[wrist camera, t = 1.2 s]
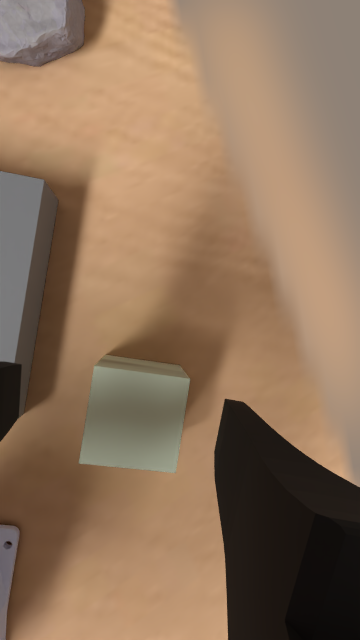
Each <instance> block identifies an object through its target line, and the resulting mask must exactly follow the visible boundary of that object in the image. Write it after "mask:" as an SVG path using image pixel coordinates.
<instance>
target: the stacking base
mask: <svg viewBox="0 0 360 640" xmlns="http://www.w3.org/2000/svg"><path fill="white" fill-rule="evenodd" d="M57 206H58V199H57V197H56V196H55V194H54V193H53V192H52V190H51V189H50V187H49V186H48V184H47V183H46V182H45V180H43V179H38V178H33V177H28V176H23V175H18V174H13V173H8V172H3V171H0V362H3V361H5V362H11V363H17V364H22V370H21V388H20V406H19V417H21V416H22V415H23V414H24V409H25V403H26V397H27V391H28V385H29V378H30V372H31V366H32V360H33V354H34V348H35V342H36V335H37V329H38V323H39V317H40V311H41V305H42V298H43V292H44V286H45V280H46V274H47V268H48V261H49V255H50V249H51V243H52V237H53V231H54V225H55V218H56V212H57Z"/></svg>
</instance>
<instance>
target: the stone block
mask: <svg viewBox="0 0 360 640" xmlns="http://www.w3.org/2000/svg"><path fill="white" fill-rule="evenodd" d="M84 21H85V8H84V6H83V3H82V0H0V61H4V62H8V63H21V64H27V65H30V66H42V65H43V64H45V63H47V62H50V61H52V60H56V59H58V58H61V57H63V56H65V55H67V54H70V53H72V52H74V51H76V50H77V49H79V48H80V47H81V46H82V45H83V44H84Z"/></svg>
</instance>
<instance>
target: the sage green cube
mask: <svg viewBox="0 0 360 640" xmlns="http://www.w3.org/2000/svg"><path fill="white" fill-rule="evenodd" d="M189 384H190V378H189V377H188V375H187V374H186V373H185V371H184V370H183V369H182V368H181V366H180V365H176V364H169V363H162V362H154V361H147V360H140V359H133V358H126V357H119V356H112V355H105V356H104V357H103V358H102V359H101V360H100V361H98V362H97V363H96V364H95V365H94V370H93V377H92V383H91V389H90V395H89V402H88V408H87V414H86V421H85V427H84V433H83V439H82V446H81V452H80V458H79V464H89V465H99V466H109V467H120V468H130V469H140V470H150V471H160V472H170V473H176V468H177V461H178V455H179V448H180V442H181V435H182V429H183V423H184V416H185V410H186V403H187V397H188V390H189Z"/></svg>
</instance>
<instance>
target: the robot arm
mask: <svg viewBox="0 0 360 640" xmlns="http://www.w3.org/2000/svg"><path fill="white" fill-rule="evenodd" d="M21 370H22V364H17V363H11V362H5V361H3V362H0V441H1V440H2V439H3V438H4V436H5V435H6V434H7V433H8V431H9V430H10V429H11V427H12V426H13V425H14V423H15V422H16V421H17V419H18V418H19V406H20V388H21ZM214 468H215V484H216V492H217V499H218V506H219V513H220V521H221V528H222V535H223V542H224V552H225V565H226V588H227V616H228V640H360V487H358V486H356V485H354V484H352V483H350V482H349V481H347V480H345V479H343V478H342V477H340V476H338V475H336V474H334V473H333V472H331V471H329V470H328V469H326V468H324V467H323V466H321V465H320V464H318V463H317V462H315V461H314V460H312V459H311V458H309V457H308V456H306V455H305V454H304V453H302V452H301V451H299V450H298V449H297V448H295V447H294V446H293V445H292V444H290V443H289V442H288V441H287V440H285V439H284V438H283V437H282V436H281V435H279V434H278V433H277V432H276V431H275V430H274V429H272V428H271V427H270V426H269V425H268V424H267V423H266V422H265V421H264V420H263V419H262V418H260V417H259V416H258V415H257V414H256V413H255V412H254V411H253V410H252V409H251V408H250V407H249V406H248V405H246V404H245V403H244V402H241V401H235V400H229V399H225V402H224V407H223V411H222V416H221V421H220V426H219V431H218V436H217V441H216V446H215V451H214ZM19 535H20V532H19V529H18V528H17V527H16V526H11V525H0V640H6V622H7V609H8V603H9V597H10V590H11V584H12V578H13V572H14V566H15V559H16V553H17V547H18V541H19ZM6 541H10V542H11V543H12V545H8V544H7V543H6Z"/></svg>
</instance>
